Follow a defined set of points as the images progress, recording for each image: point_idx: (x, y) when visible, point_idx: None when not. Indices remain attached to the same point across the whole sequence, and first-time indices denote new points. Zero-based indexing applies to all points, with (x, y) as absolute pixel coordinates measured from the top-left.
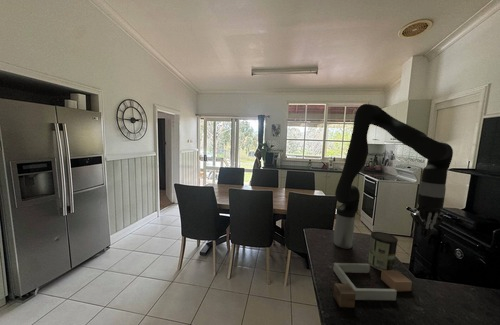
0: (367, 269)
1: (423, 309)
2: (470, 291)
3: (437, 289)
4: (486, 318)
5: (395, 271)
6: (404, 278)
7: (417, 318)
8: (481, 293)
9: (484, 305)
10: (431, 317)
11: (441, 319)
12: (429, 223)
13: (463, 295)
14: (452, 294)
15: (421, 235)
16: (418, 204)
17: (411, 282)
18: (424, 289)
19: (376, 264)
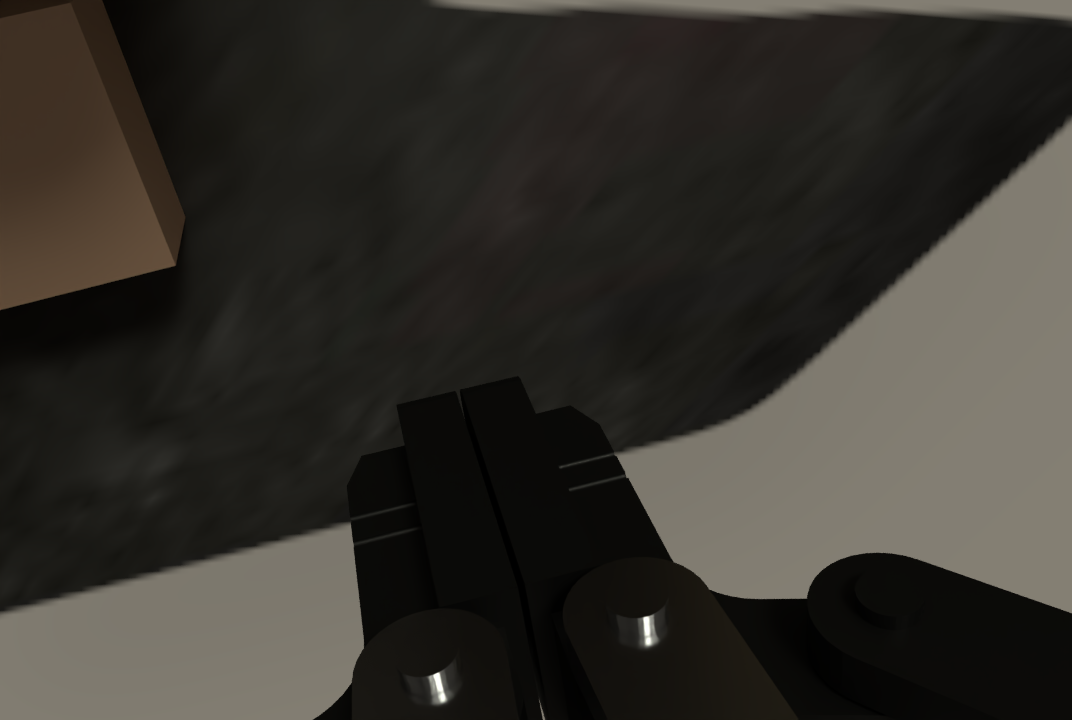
0: None
1: (175, 466)
2: (927, 57)
3: (557, 108)
4: (694, 418)
5: (17, 51)
6: (95, 212)
7: (53, 583)
8: (1015, 67)
9: (845, 258)
10: (197, 538)
11: (277, 534)
12: (794, 715)
13: (777, 151)
14: (666, 162)
15: (399, 415)
16: None
17: (167, 264)
18: (386, 146)
19: None
